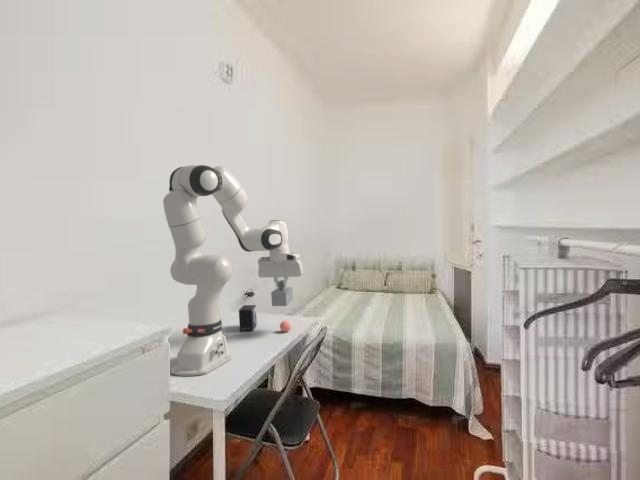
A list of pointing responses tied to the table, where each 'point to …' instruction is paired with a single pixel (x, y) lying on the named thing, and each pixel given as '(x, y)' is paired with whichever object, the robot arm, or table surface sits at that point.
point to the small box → (247, 318)
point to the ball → (285, 326)
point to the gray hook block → (282, 295)
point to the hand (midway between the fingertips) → (281, 286)
